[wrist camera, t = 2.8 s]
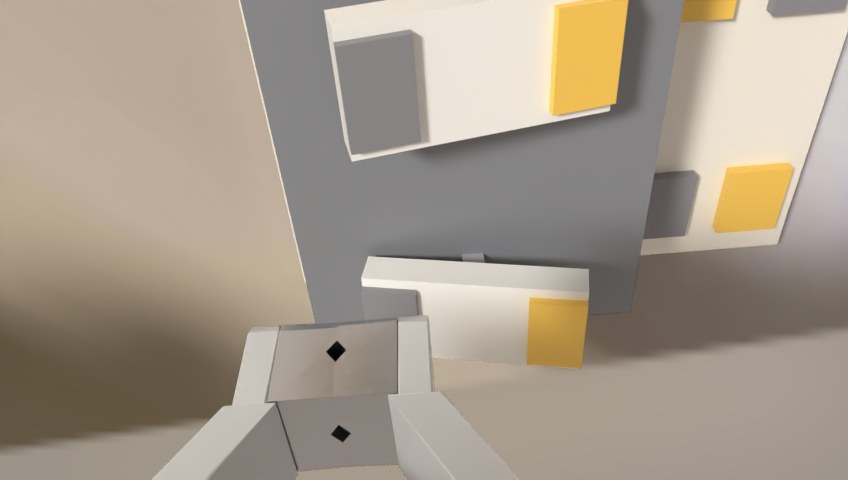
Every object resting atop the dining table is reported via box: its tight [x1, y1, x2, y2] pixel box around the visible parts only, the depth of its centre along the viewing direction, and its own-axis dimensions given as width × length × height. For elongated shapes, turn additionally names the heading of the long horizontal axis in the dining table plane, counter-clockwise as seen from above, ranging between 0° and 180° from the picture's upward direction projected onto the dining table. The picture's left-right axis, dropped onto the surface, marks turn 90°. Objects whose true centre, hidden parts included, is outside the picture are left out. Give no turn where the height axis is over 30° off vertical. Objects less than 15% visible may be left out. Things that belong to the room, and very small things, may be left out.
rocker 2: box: [361, 256, 589, 369], centre depth 26 cm, size 8×4×2 cm, turn 94°
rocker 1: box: [324, 0, 628, 162], centre depth 20 cm, size 8×4×2 cm, turn 94°
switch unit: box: [238, 0, 848, 324], centre depth 26 cm, size 22×16×6 cm
